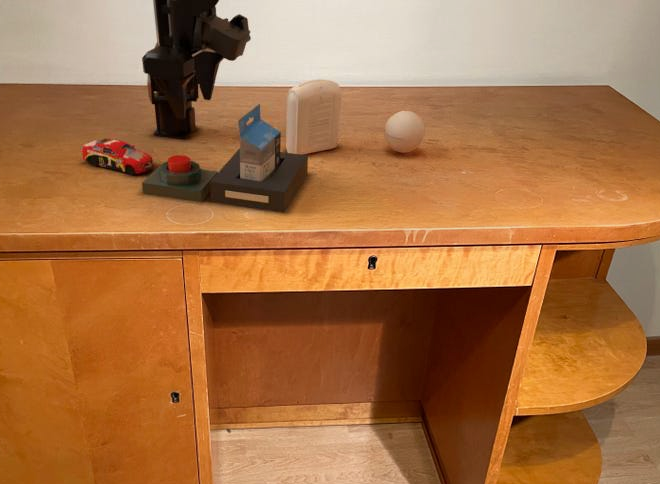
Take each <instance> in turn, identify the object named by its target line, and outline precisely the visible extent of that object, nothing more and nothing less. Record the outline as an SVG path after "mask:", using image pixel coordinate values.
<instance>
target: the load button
mask: <svg viewBox="0 0 660 484" xmlns="http://www.w3.org/2000/svg"><path fill="white" fill-rule="evenodd" d="M191 161H192V160H191V158H190V157H189V156H188V155H183V154H177V155H172V156H169V157H168V158H167V162H168V169H169V171H170V172H174V173H185V172H188V171H191Z"/></svg>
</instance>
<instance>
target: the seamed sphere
mask: <svg viewBox="0 0 660 484" xmlns="http://www.w3.org/2000/svg"><path fill="white" fill-rule="evenodd" d="M382 134H384V139H385V142H386V144H387V146H389V148H391V149H392V150H393V151H395V152H397V153H401V154H406V153H410V152H413V151H415V150H416V149H417V148H418V147H420V145H421V144H422V142H423V140H424V137H425V124H424V122H423V119H422V118H421V117H420V116H419V115H418V114H417V113H415V112H413V111H410V110H401V111H398V112H395V113H394V114H393V115H392V116H390V117H389V119H388V120H387V121H386V123H385V128H384V132H381V133H376V134H375V136H377V135H382Z"/></svg>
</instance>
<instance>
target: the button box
mask: <svg viewBox="0 0 660 484" xmlns="http://www.w3.org/2000/svg"><path fill="white" fill-rule="evenodd" d="M218 172H219V171H217V170H211V169H210V170H209V169H201V165H200V164H199V163H198V162H196V161H194V160H191V171H188V172H185V173H174V172H170V171H169V169H168V161H165V162H163V163H160V164H159V166H158V167H156V169H155V170H154V171H152V173H150V175H148V176H147V177H146V178H145V179H144V180H143V181H142V182H141V188H142V194H145V195H152V196H158V197H164V198H172V199H178V200H179V199H180V200H186V201H192V202H199V203H201V202H203V201H204V200H205V198H207V195H208V194H210V193H211V187H210V181H211V180H212V179H213V178H214V177H215V176H216V175H217V173H218Z"/></svg>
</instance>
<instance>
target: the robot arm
mask: <svg viewBox="0 0 660 484" xmlns="http://www.w3.org/2000/svg"><path fill="white" fill-rule="evenodd" d="M219 1H220V0H152V4H153V13H154V23H155V25H154V26H155V35H156V43H155V46H154V48H152V49H150V50H148V51H146V53H145V54H143V56H142V58H141V62H142V71H143V73H144V74H147V78H146V79H147V80H146V81H147V84H146V85H147V86H146V87H147V93H148V94H147V95H148V98H149V101H150V104H151V105H153V106H154V115H155V125H156V129H155V130H154V131H153V133H152V134H153V136H158V137H165V138H173V139H181V140H185V139H187V138H188V137H189V136H190V135H192V133H193V132H194V131H196V129H197V128H198V126H197V124H196V111H195V107H194V106H193V102H198V99H199V97H200V95H199V94H200V93H199V89H200V92H201V95H202V98H203V100H205V101H211V99H212V97H213V93H214V88H215V84H216V80H217V75H218V71H219V68H220V65H221V62H223V60H227V61H229V62H230V61H231V62H233V61H236V60H237V58H239V57H242V56H243V55H244V53H245V49H246V46H247V43H248V42H250V41H251V39H252V37H251V35H250V34H251V30H250V29H249V28H250V27H249V20H248V18H247V17H246V16H244V15H242V14H241V13H238V14H236V15H235V16H234V17H232V18H231V19H230V20H229V18H227V17H225V18H222V17H220V16H217V7H216V6H217V5H218V3H219Z"/></svg>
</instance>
